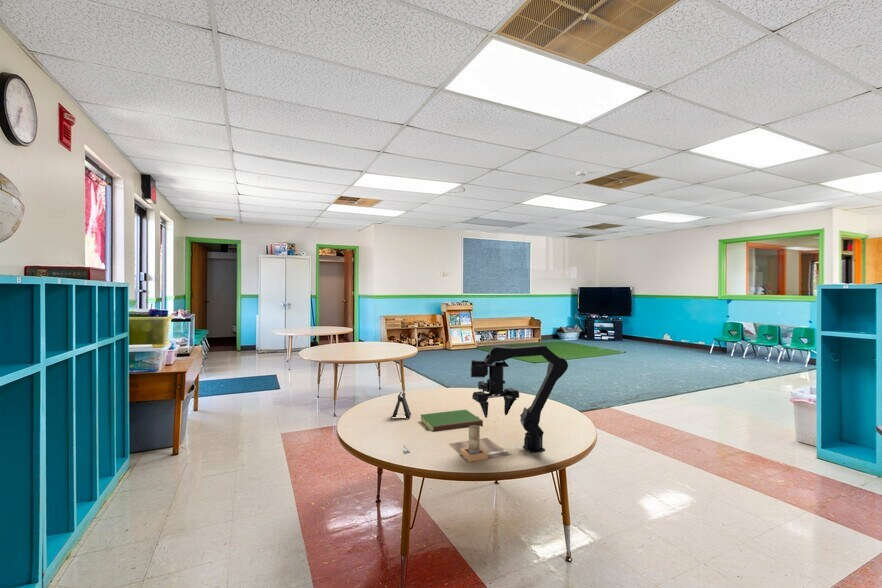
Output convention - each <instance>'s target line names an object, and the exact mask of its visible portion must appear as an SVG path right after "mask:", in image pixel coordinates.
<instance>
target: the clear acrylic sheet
mask: <svg viewBox="0 0 882 588" xmlns="http://www.w3.org/2000/svg"><path fill="white" fill-rule="evenodd" d="M448 445H449V446H450V447H451V448H452V450H454V451H455V452H456V453H458V454H459V455H460V456H461V457H463V456H462V455H461V454H460V449H463V448H469V440H463V441H458V442H457V441H456V442H452V443H451V442H450V443H448ZM479 447H480V448H481V449H483V450H484V451H485V452H487V453H488V459H484V460H483V461H485V460H489V459H490V460H491V459H496V458H501V457H507V456H511V455H512V454H511V453H510V452H508V451H507V450H506V449H504V448H503V447H501V446H500V445H498V444H497V443H495V442H494V441H492V440H491V439H490V438H488V437H484V438H480V444H479ZM463 458H464V460H466V462H468V463H470V462H469V461H468V460H467V459H466V458H465V457H463ZM479 461H481V460H478V461H477V462H479ZM473 462H476V461H472V462H471V463H473Z"/></svg>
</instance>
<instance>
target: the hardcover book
mask: <svg viewBox="0 0 882 588" xmlns="http://www.w3.org/2000/svg"><path fill="white" fill-rule="evenodd" d="M421 421H422V422H423V423H424V424H425V425H426V426H427V427H428V428H429V429H428V428H427V427H426V426H425V425H424V424H423V423H422V422H421ZM420 422H421V423H422V424H423V425H424V426H425V427H426V428H427V429H428V430H429V431H431V432H441V431H446V430H447V431H449V430H454V429H465V428H469V426H470V425H477V426H479V427H484V425H483V424H484V421H483V419H481V418H480V417H478V416H476V415H475V414H474V413H472V412H470V411H469V410H467V409H457V410H450V411H449V410H447V411H442V412H432V413H423V414H420Z"/></svg>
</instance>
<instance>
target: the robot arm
mask: <svg viewBox="0 0 882 588" xmlns="http://www.w3.org/2000/svg"><path fill="white" fill-rule="evenodd" d="M536 356H542V358H544V360H546V361H547V362H548V364H547V369H546V375H545V377H544V379H543V381H542V383H541V385H540V387H539V389H538V391H537V393H536V395H535V397H534V399H533V401H532V403H531V405H530V406H529V407H528V408H527V407H524V408H523V410H522V413H521V414H520V415H519V417H520V420H519V422H520V424H521V425H522V428H523V429H524V430H525V431H526V432H524V439H523V440H524V441H523V443H524V444H523V445H522V448H523V449H525V450H527V451H529V452H530V453H537V452H544V451H545V450H546V448H545V447H543V441H544V440H543V436H544V433H545V432H544V430H543V429H542V428H541V426H540V425H539V424H540V421H541V414H542V410H543V409H544V407H545V405H546V403H547V401H548V399H549V397H550V395H551V393H552V391H553V389H554V387H555V385H556V383H557V381H558V380H559V379H560V378H562V377H563V375H564V374H565V373H566V371H567V370H568V368H569V364H568V361H567V359H566V358H563V357H561V356H559V355H556V353H554V352H553V351H552V350H550V349H549V347H547V346H546V345H544V344H538V345H527V346H525V345H524V346H512V347H511V346H504V345H497V344H496V345H492V346H490V348H489V349H488V354H487V355H486V356H485V358H484V359H483V360H475V359H471V362H470V367H469V368H470V369H469V370H470V378H486V377H487V376H488V379H486V382H485V381H483V380H481V381H478V382H477V383H478V384H477V386H478V390H481V391H474V392H473V393H472V400H474V401H475V402H477V403H479V404H480V407H481V410H482V413H483V416H484V418H486V419H487V418H488V413H489V404H490V403H489V401H488V400H489V399H491V398H493V399H494V398H501V397H502V398H503V400H504V405H503V406H504V408H503V409H504V410H503V411H504V416H507V415H508V414H509V412H510V410H511V408H512V406H513V404H514V403H515V401H517V399H519V398H520V392H519V390H518V389H515V388H512V387H510V388H504V384H506V380H504V368H509V364H508V363H507V361H506V360H509V359H512V358H521V357H523V358H524V357H536Z"/></svg>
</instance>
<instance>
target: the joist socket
mask: <svg viewBox="0 0 882 588" xmlns="http://www.w3.org/2000/svg"><path fill="white" fill-rule="evenodd" d="M460 454H461V455H462V456H463V458H464V457H465V458H466V459H467V460H468V461H469V462H468V461H467V460H466V459H465V458H464V459H465V460H466V461H467V462H468V463H473V462H472V461H475V462H479V461H478V460H480V461H485V460H484V459H486V460H489V459H488V453H487V452H485V451H484V450H483V449H481V448H480V447H479V454H474V455H470V454H469V448H463V449H460ZM460 454H459V455H460ZM461 455H460V456H461ZM462 456H461V457H462Z"/></svg>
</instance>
